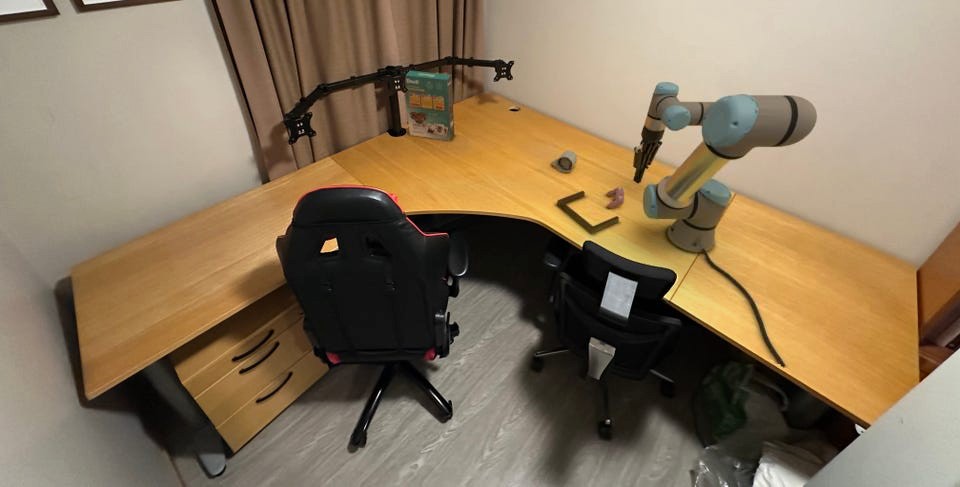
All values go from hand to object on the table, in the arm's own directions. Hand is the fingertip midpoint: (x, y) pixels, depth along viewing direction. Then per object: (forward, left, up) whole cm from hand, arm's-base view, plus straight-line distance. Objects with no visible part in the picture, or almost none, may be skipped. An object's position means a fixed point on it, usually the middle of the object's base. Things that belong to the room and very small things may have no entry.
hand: (636, 181), depth 160 cm
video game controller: (0, +11, -7) cm, 12 cm away
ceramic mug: (+31, +12, -7) cm, 34 cm away
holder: (0, +25, -6) cm, 25 cm away
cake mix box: (+89, +50, -7) cm, 102 cm away
